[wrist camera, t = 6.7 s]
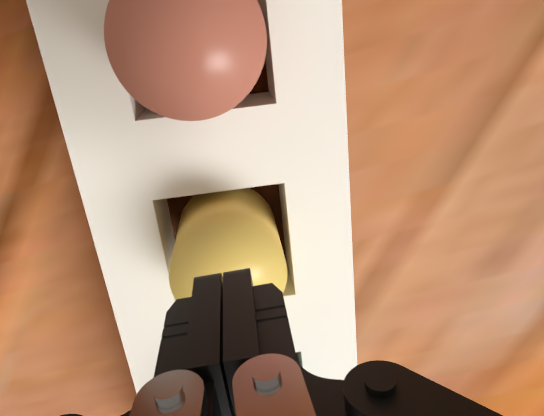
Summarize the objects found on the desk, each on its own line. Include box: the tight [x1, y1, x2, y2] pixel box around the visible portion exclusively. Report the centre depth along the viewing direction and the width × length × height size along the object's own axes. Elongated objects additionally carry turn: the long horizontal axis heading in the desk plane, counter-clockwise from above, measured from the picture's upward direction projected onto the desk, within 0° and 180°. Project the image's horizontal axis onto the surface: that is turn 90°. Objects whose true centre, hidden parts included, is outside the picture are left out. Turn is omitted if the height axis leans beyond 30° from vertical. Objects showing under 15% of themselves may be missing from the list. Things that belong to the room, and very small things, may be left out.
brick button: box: [104, 0, 267, 121], centre depth 14 cm, size 4×4×4 cm
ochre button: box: [169, 188, 287, 300], centre depth 18 cm, size 4×4×4 cm
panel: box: [26, 0, 357, 393], centre depth 20 cm, size 10×24×3 cm, turn 6°
